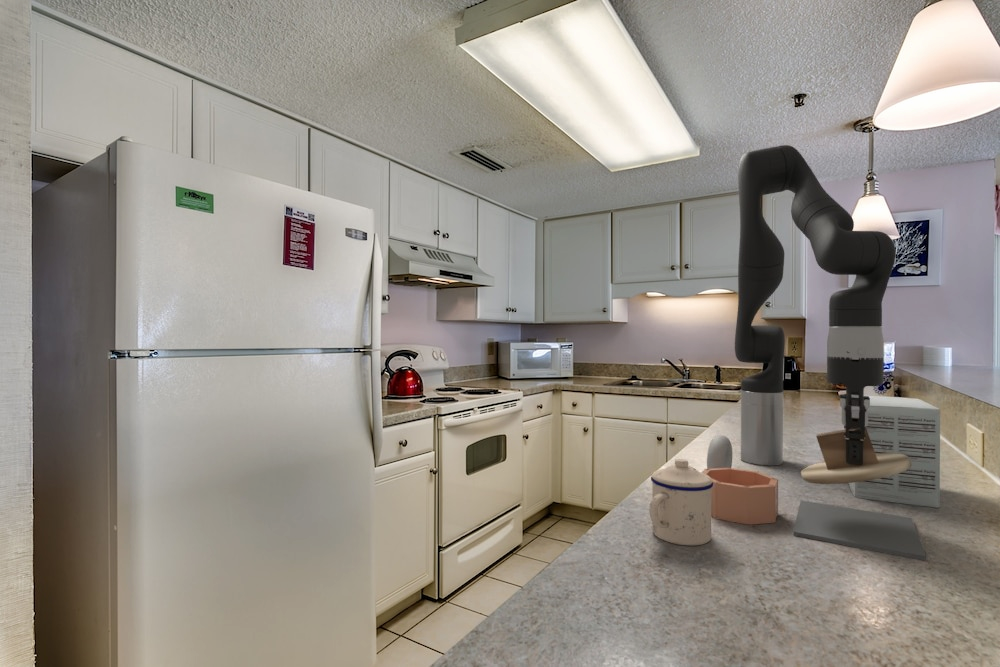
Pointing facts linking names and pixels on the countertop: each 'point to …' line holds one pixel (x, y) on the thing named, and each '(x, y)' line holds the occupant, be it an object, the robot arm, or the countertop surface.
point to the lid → (842, 472)
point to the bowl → (743, 496)
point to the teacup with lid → (681, 504)
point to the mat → (859, 529)
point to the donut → (719, 453)
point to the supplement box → (904, 451)
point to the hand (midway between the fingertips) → (854, 462)
